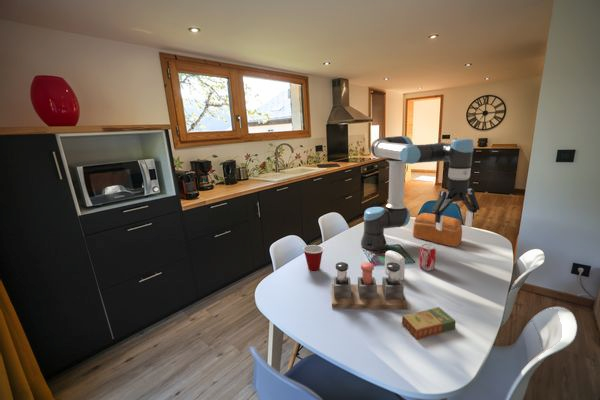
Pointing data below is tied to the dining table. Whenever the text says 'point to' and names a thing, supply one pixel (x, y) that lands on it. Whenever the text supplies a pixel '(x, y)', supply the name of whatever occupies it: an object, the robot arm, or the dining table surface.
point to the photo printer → (395, 258)
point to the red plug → (367, 273)
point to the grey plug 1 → (342, 272)
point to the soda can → (427, 257)
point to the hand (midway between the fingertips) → (453, 228)
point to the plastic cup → (313, 256)
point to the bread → (428, 231)
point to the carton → (428, 323)
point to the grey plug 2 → (393, 273)
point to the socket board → (368, 295)
